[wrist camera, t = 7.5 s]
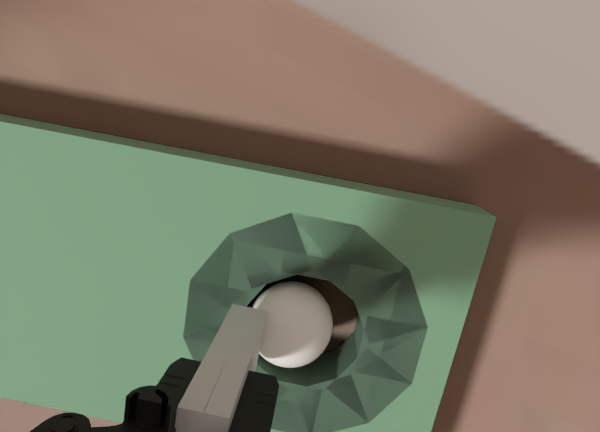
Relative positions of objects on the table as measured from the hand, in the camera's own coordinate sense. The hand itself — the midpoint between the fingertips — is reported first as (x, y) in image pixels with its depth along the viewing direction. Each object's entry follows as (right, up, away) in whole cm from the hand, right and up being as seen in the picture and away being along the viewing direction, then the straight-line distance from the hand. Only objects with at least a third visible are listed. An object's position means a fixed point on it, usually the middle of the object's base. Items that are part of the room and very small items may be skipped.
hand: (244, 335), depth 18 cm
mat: (-3, +2, +4) cm, 5 cm away
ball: (+2, 0, +2) cm, 3 cm away
